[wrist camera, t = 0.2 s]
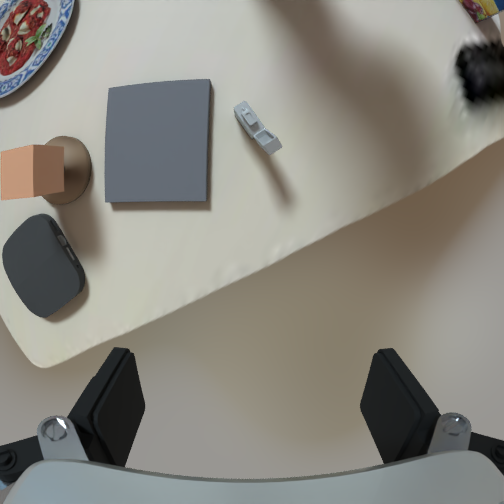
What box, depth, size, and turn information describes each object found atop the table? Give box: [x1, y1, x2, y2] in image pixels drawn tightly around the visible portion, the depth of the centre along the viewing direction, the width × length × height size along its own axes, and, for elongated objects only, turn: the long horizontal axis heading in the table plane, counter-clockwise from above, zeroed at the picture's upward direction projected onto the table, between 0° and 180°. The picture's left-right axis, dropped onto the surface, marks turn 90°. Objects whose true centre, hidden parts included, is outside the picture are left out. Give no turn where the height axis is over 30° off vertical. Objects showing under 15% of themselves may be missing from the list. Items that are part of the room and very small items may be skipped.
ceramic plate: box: [0, 0, 75, 98], centre depth 29 cm, size 26×26×3 cm
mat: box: [105, 79, 211, 202], centre depth 37 cm, size 16×14×2 cm
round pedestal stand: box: [42, 136, 91, 205], centre depth 33 cm, size 10×10×10 cm
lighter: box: [234, 101, 282, 155], centre depth 34 cm, size 7×2×8 cm, turn 34°
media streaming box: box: [2, 214, 85, 318], centre depth 40 cm, size 15×15×3 cm
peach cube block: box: [1, 145, 64, 200], centre depth 30 cm, size 6×6×7 cm
